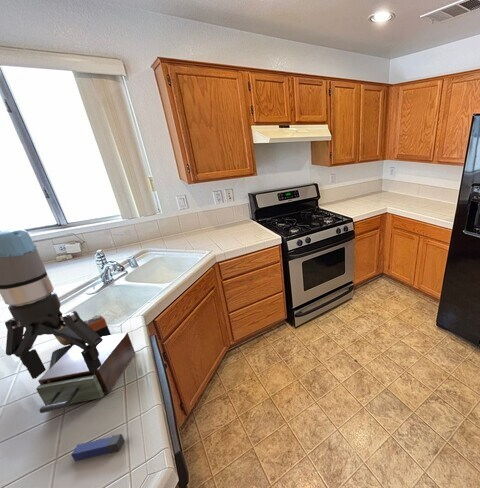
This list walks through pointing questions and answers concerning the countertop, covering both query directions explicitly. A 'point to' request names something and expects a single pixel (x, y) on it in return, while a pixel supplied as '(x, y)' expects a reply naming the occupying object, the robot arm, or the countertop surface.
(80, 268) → the countertop surface
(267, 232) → the countertop surface
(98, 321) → the battery
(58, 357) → the phone
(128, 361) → the cabinet
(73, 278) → the countertop surface
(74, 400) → the drawer
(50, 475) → the countertop surface
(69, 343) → the natural sponge
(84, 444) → the navy blue eraser
